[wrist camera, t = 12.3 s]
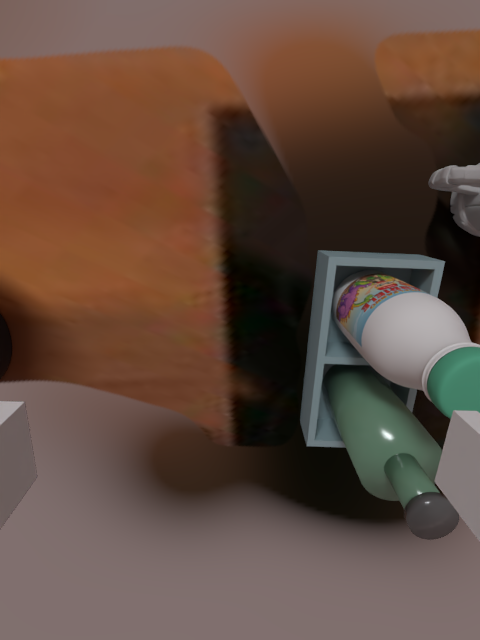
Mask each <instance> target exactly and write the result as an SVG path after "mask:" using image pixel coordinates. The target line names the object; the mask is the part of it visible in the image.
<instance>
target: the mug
mask: <svg viewBox="0 0 480 640" xmlns="http://www.w3.org/2000/svg"><path fill="white" fill-rule="evenodd" d="M429 186H430V187H431V188H433V189H436V190H442V191H452V195H451V201H450V205H451V206H452V207H450V208H451V213H453V214H454V216H453V219H454V221H455V222H456V224H457V225H458V226H459V227H461V228H462V229H464V230H466V231H467V232H469V233H470V234H472V235H475V236H479V237H480V163H479V164H477V165H476V166H474V165H468V166H467V167H457V166H448V167H445V168H442V169H440V170H438V171H435V172H434V173H433V174H432V176H431V178H430V180H429Z"/></svg>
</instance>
